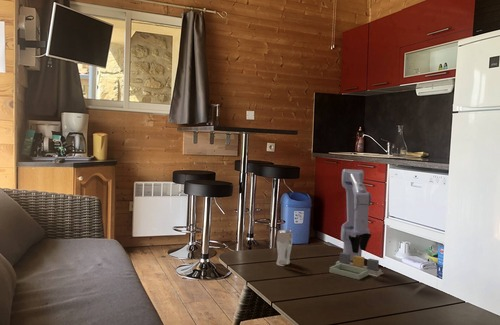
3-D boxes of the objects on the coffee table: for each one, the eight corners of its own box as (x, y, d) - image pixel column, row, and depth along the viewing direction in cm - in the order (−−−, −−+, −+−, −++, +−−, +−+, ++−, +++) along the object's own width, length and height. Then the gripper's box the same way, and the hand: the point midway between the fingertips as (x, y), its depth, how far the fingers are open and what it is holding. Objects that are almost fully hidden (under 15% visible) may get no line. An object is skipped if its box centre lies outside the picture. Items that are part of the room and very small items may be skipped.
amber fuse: (354, 267, 183) (355, 255, 183) (363, 269, 180) (364, 257, 180) (352, 268, 181) (353, 256, 181) (361, 270, 178) (361, 258, 178)
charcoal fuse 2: (369, 271, 179) (369, 258, 178) (378, 273, 176) (378, 260, 176) (366, 272, 177) (367, 259, 177) (375, 274, 174) (376, 261, 174)
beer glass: (272, 264, 184) (274, 231, 183) (279, 261, 190) (280, 229, 190) (287, 267, 181) (289, 233, 180) (293, 264, 187) (295, 231, 186)
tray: (339, 270, 181) (339, 263, 181) (368, 277, 173) (368, 270, 173) (329, 274, 174) (329, 267, 174) (358, 282, 166) (359, 274, 166)
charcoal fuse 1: (341, 264, 187) (342, 252, 187) (349, 266, 184) (350, 254, 184) (339, 265, 185) (339, 253, 185) (347, 267, 182) (348, 255, 182)
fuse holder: (340, 264, 190) (341, 259, 190) (383, 275, 177) (383, 269, 177) (333, 267, 184) (333, 262, 184) (376, 278, 172) (377, 272, 171)
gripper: (362, 223, 172) (360, 255, 172) (376, 219, 183) (374, 250, 183) (347, 220, 176) (345, 252, 177) (361, 217, 187) (359, 247, 188)
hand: (359, 251), depth 180 cm, fingers open, 7 cm apart
